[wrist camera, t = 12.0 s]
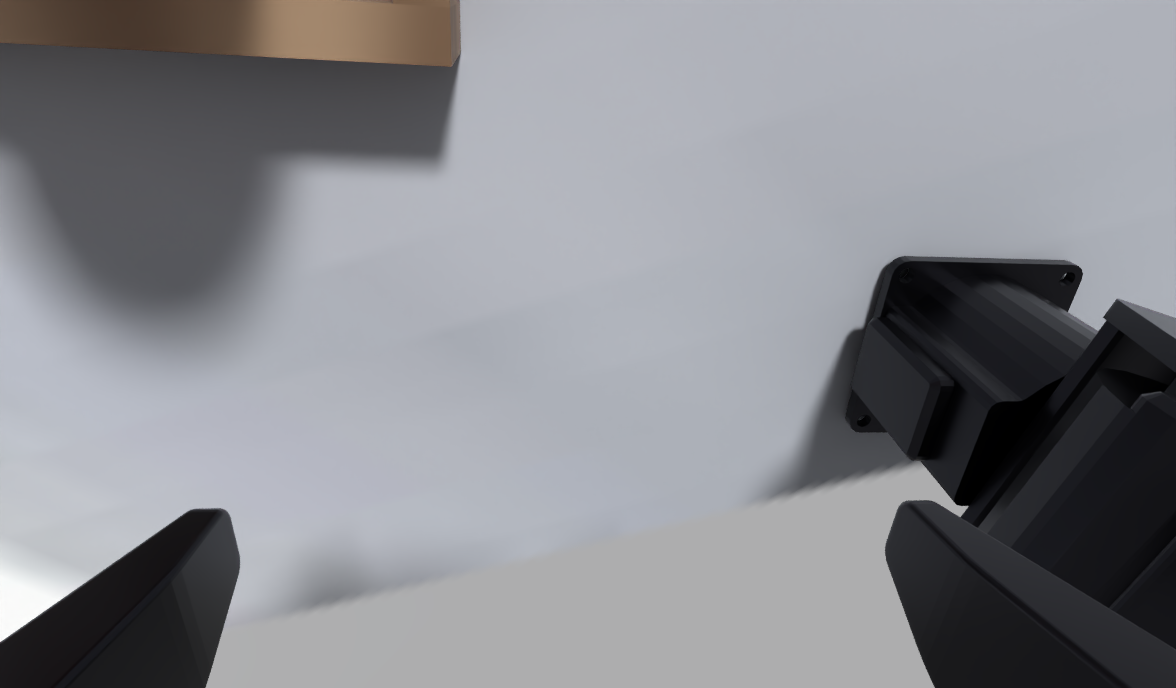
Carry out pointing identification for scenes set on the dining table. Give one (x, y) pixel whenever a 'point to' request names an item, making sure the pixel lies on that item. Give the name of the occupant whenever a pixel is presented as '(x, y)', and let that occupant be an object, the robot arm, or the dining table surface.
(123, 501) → the dining table surface
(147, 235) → the dining table surface
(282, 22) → the wooden frame
